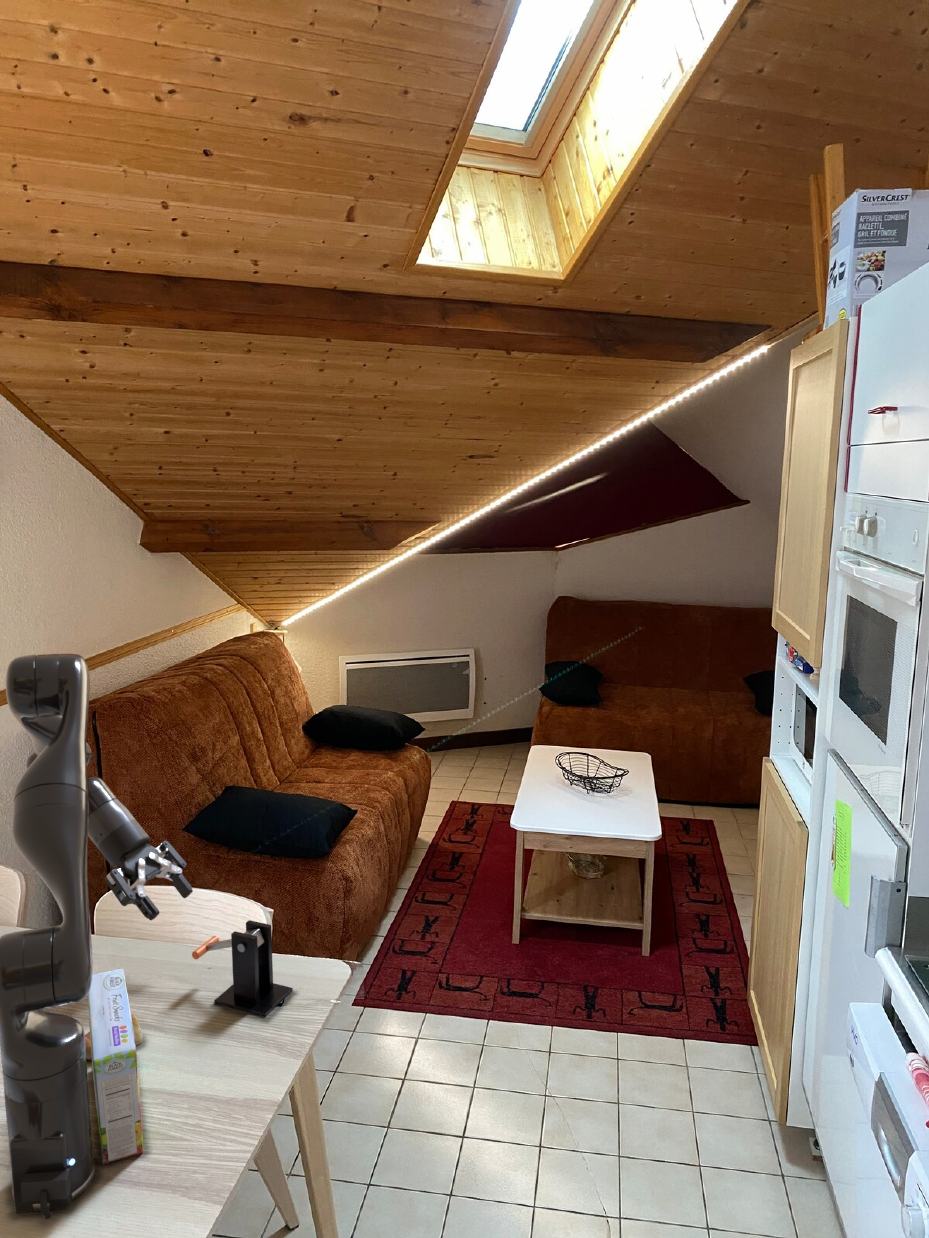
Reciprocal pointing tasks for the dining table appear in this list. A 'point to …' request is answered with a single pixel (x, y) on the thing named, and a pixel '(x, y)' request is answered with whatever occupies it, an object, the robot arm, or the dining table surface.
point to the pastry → (137, 1036)
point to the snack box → (114, 1067)
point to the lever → (223, 943)
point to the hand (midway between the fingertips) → (172, 905)
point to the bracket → (253, 974)
